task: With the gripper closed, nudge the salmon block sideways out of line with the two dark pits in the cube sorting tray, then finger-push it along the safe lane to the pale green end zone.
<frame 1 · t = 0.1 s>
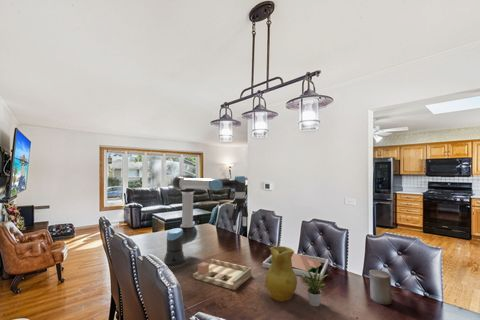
hand: (240, 228, 162), 28 cm above the table, fingers open, 13 cm apart
serving tray rim: (296, 265, 167), on the table
salmon block: (203, 272, 150), point 2 cm above the table, touching cube sorting tray
pillar candle: (380, 300, 122), on the table
house: (296, 265, 166), on the table, touching serving tray rim
pitcher: (282, 294, 127), on the table
house plant: (316, 303, 119), on the table
cube sorting tray: (221, 276, 148), on the table
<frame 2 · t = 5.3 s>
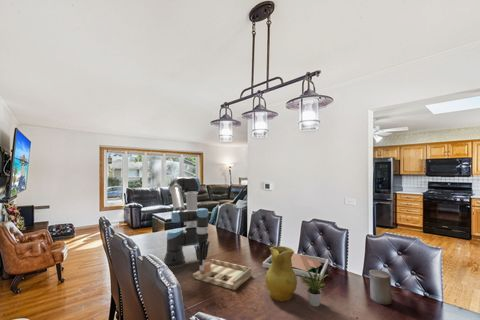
hand: (202, 269, 148), 4 cm above the table, fingers closed
salmon block: (205, 270, 151), point 3 cm above the table, touching gripper
everything else where it was.
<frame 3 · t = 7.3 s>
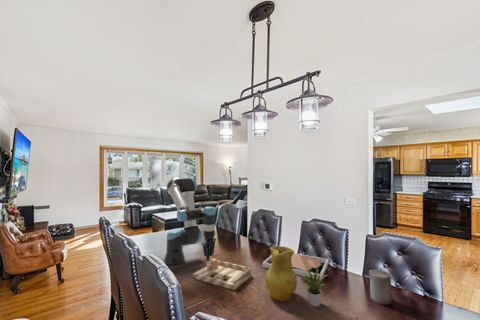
hand: (208, 265, 155), 5 cm above the table, fingers closed
salmon block: (211, 267, 157), point 2 cm above the table, touching gripper
everything else where it was.
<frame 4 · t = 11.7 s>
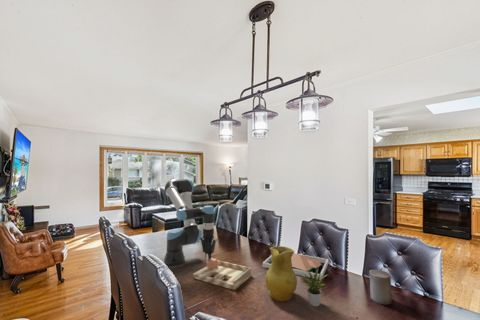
hand: (208, 263, 159), 5 cm above the table, fingers closed
nothing on the table moved.
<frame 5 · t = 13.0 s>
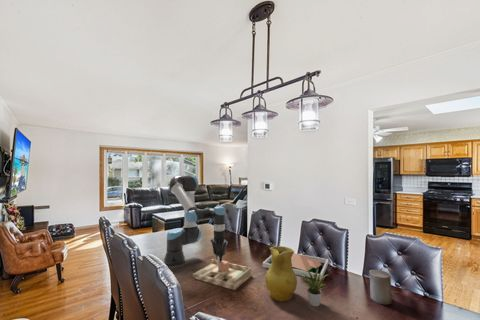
hand: (219, 265, 154), 5 cm above the table, fingers closed
salmon block: (223, 269, 153), point 2 cm above the table, touching gripper, cube sorting tray
everything else where it was.
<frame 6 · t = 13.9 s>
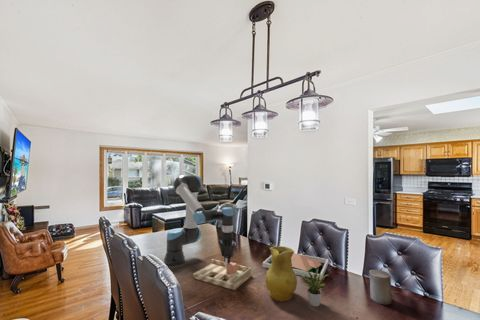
hand: (227, 267, 151), 5 cm above the table, fingers closed
salmon block: (231, 271, 150), point 2 cm above the table, touching gripper
everything else where it was.
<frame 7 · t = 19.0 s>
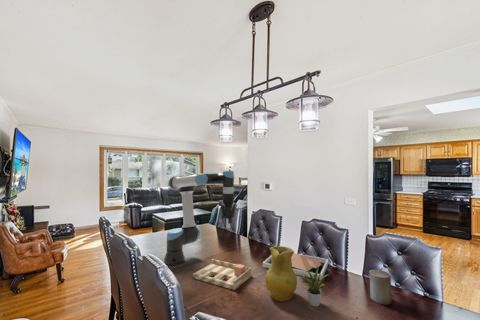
hand: (228, 228, 156), 29 cm above the table, fingers closed
salmon block: (239, 273, 147), point 2 cm above the table, touching cube sorting tray
everything else where it was.
at the end: salmon block inside the target area on the cube sorting tray (0.7 cm from its centre), point 2.5 cm above the cube sorting tray's base; salmon block tilted 0° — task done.
